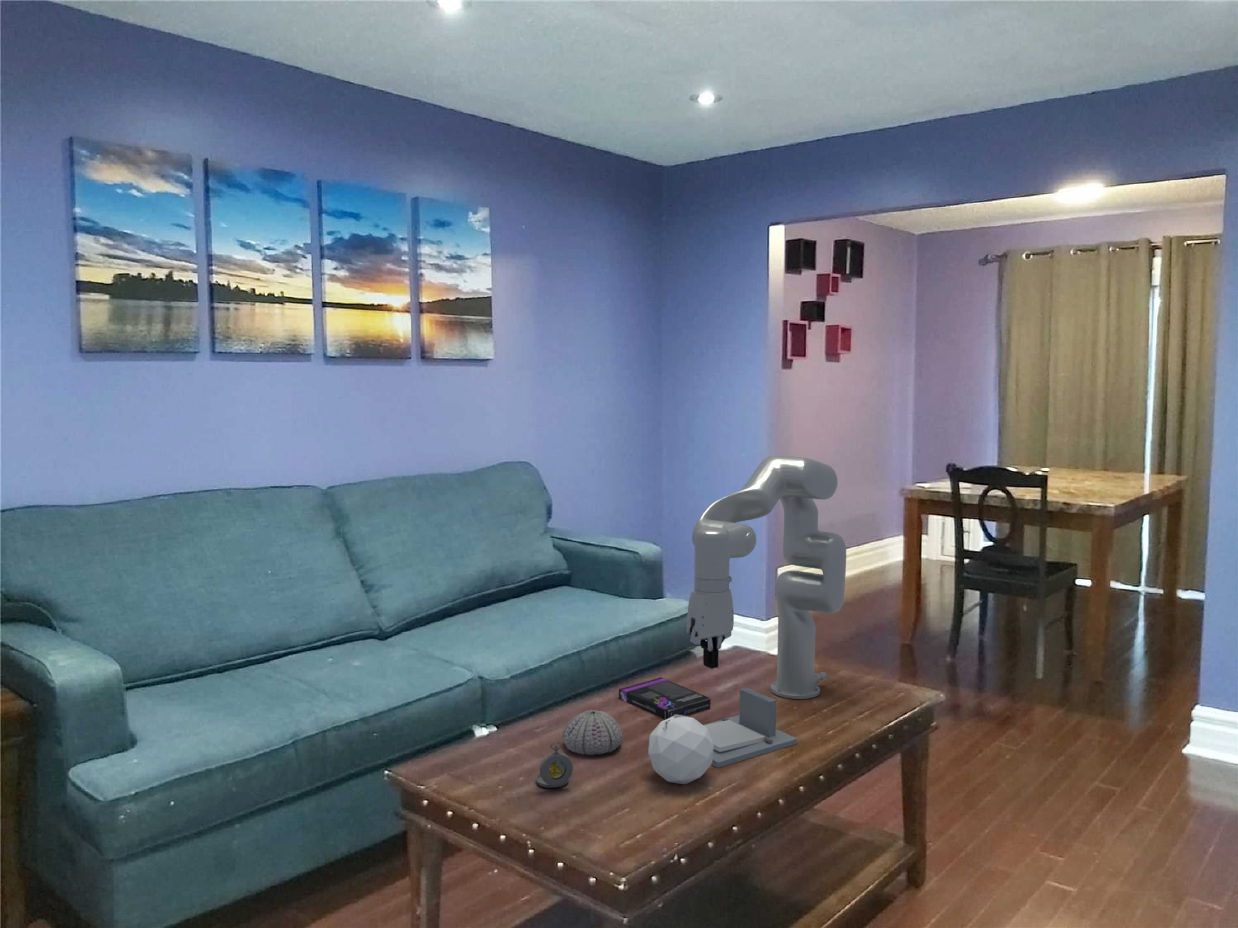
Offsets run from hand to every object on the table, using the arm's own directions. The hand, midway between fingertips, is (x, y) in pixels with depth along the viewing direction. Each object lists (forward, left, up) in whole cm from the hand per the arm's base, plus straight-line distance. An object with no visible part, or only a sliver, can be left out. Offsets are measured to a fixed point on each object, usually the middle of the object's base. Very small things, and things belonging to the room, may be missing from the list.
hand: (710, 666), depth 208 cm
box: (-8, -28, -19) cm, 35 cm away
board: (-6, 0, -19) cm, 20 cm away
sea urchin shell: (+21, -15, -19) cm, 32 cm away
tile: (-4, 0, -16) cm, 17 cm away
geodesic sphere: (+15, +9, -19) cm, 26 cm away
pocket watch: (+38, -3, -19) cm, 43 cm away
